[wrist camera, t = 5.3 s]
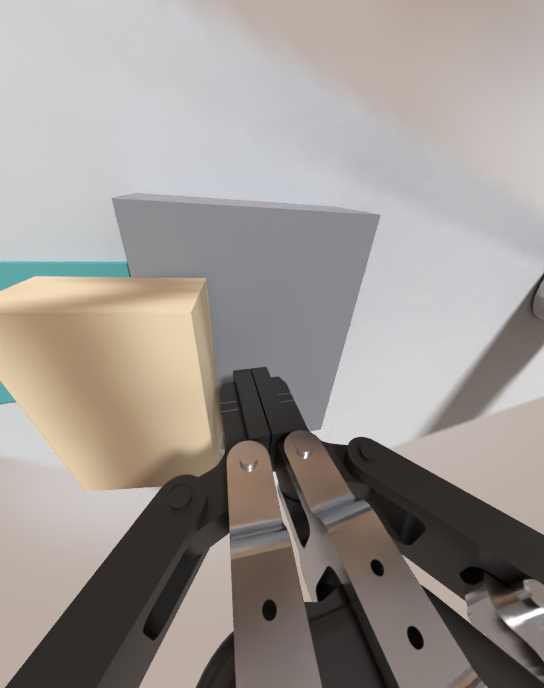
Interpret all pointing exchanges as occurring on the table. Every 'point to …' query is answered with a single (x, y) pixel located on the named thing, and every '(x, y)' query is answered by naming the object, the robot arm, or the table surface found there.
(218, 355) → the grey rectangular block
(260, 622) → the robot arm
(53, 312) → the maple tile
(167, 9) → the table surface
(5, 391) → the teal rubber mat
